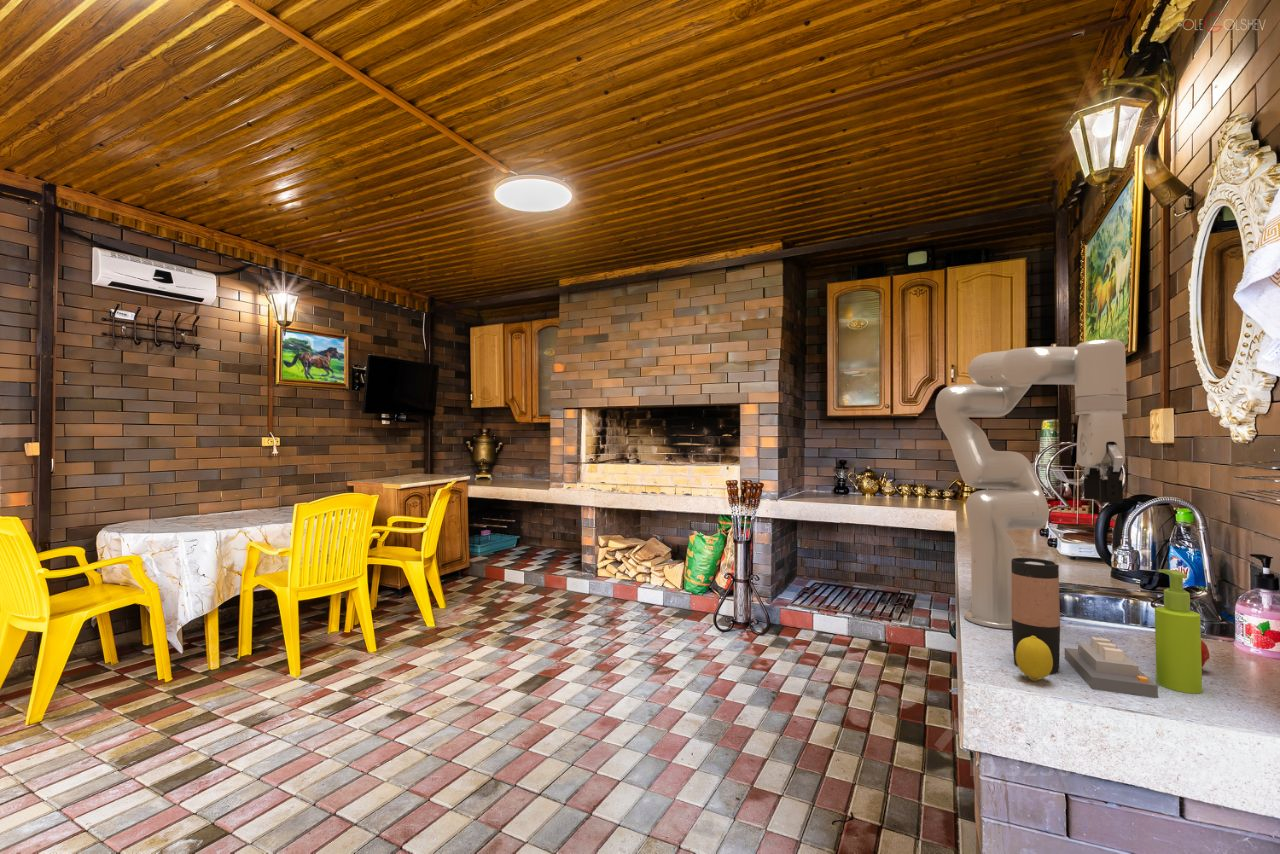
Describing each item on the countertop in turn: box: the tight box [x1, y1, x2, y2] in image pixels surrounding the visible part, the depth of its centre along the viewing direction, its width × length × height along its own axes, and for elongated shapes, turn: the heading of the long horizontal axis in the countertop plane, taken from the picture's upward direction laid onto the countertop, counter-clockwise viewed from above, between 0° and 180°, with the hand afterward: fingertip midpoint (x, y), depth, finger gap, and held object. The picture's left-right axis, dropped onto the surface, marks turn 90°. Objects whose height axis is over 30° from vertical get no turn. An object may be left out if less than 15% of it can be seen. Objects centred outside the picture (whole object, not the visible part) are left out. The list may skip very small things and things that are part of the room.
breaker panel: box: [1063, 636, 1159, 699], centre depth 105 cm, size 16×9×6 cm, turn 157°
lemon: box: [1015, 636, 1053, 682], centre depth 103 cm, size 6×6×8 cm
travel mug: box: [1011, 557, 1061, 675], centre depth 110 cm, size 8×8×20 cm
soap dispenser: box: [1154, 568, 1203, 694], centre depth 102 cm, size 6×7×20 cm
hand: (1102, 500), depth 106 cm, fingers open, 8 cm apart
